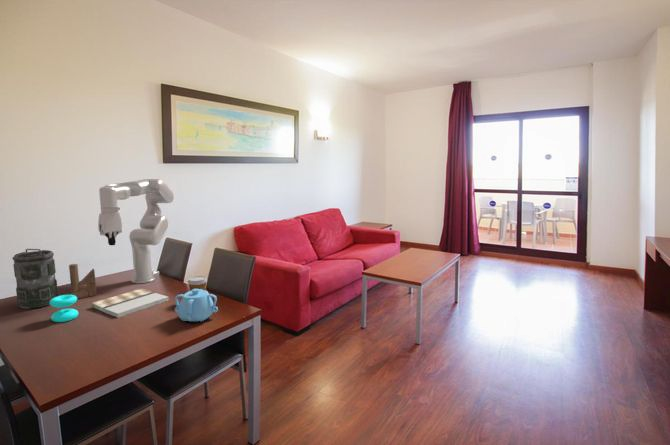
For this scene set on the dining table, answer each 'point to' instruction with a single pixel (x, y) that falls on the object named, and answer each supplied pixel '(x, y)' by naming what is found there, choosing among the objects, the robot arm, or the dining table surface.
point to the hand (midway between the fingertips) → (112, 244)
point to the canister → (35, 278)
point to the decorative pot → (195, 305)
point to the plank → (119, 298)
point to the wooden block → (88, 280)
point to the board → (135, 304)
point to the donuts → (65, 313)
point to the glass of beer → (197, 282)
